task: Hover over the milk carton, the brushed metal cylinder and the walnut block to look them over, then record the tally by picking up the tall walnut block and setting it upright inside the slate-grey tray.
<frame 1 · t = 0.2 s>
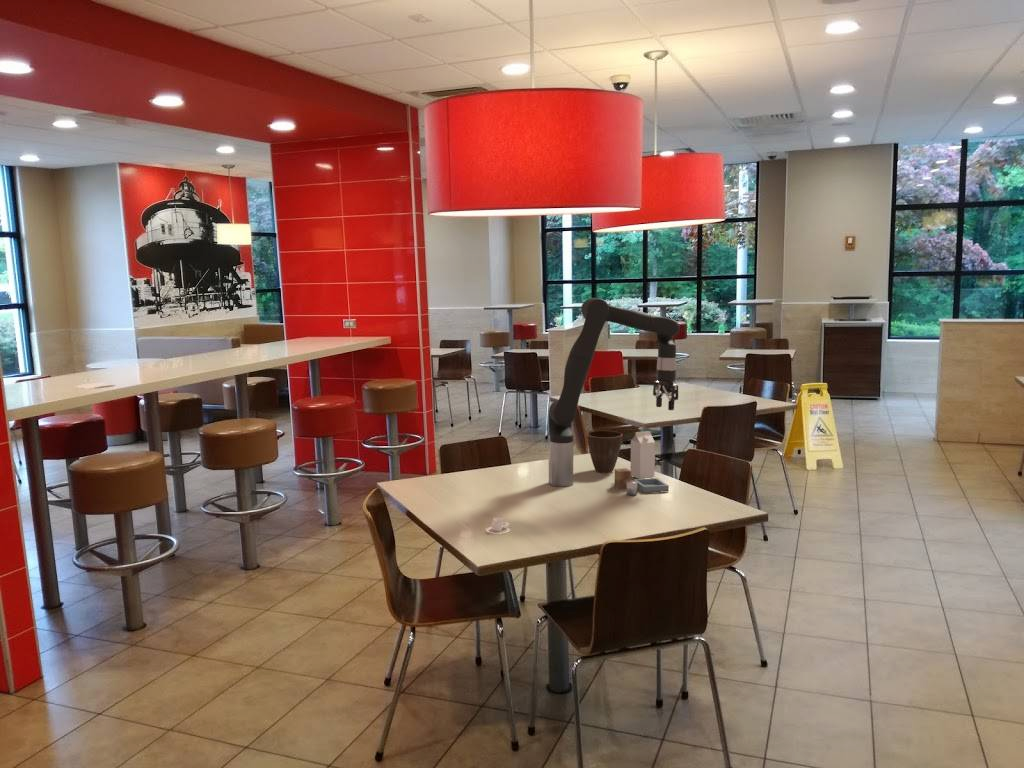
hand: (664, 408, 332), 29 cm above the table, tool pointing down, fingers open, 8 cm apart
milk carton: (642, 478, 337), on the table
plant pot: (604, 471, 349), on the table
teacup and saucer: (507, 532, 267), on the table
walnut block: (622, 487, 321), on the table
metal cylinder: (631, 494, 310), on the table
slate tray: (650, 488, 319), on the table
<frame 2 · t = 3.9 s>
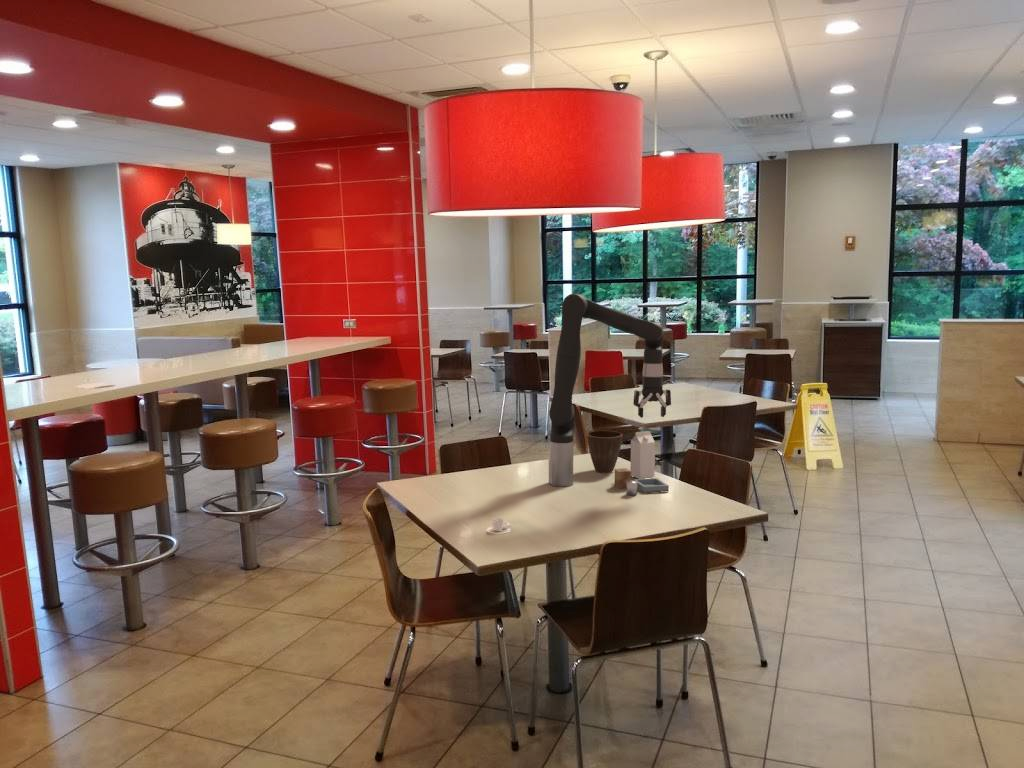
hand: (652, 416, 316), 28 cm above the table, tool pointing down, fingers open, 8 cm apart
nothing on the table moved.
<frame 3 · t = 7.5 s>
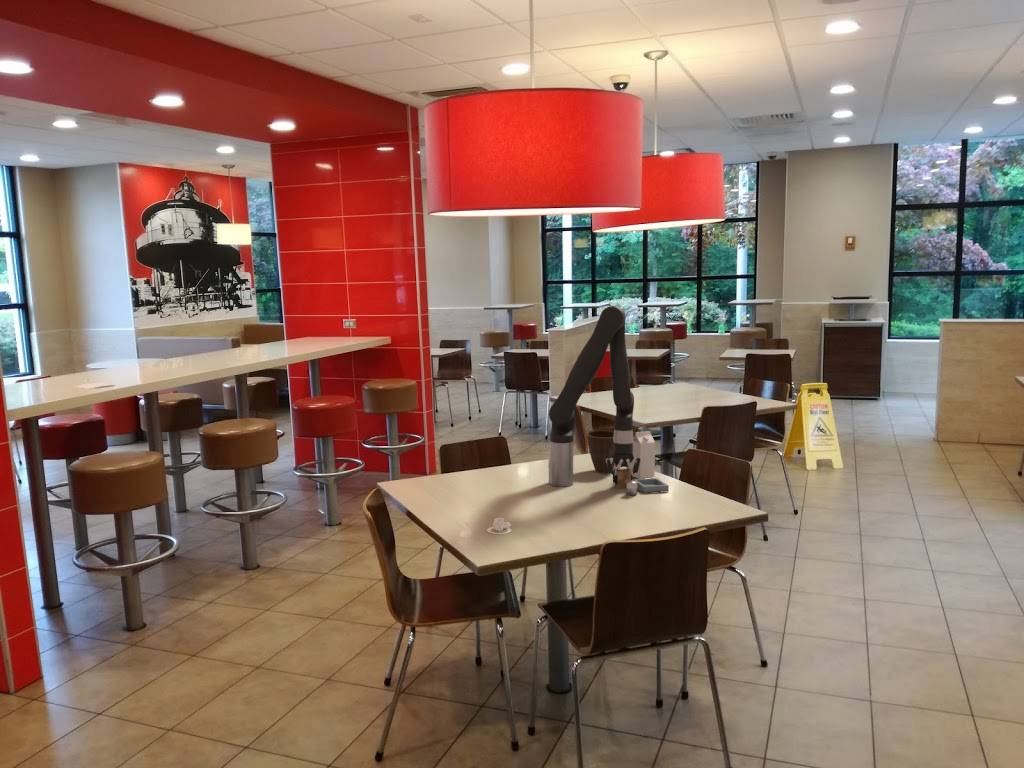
hand: (622, 483, 321), 1 cm above the table, tool pointing down, fingers closed on walnut block, 5 cm apart
walnut block: (622, 487, 321), on the table, touching gripper
everything else where it was.
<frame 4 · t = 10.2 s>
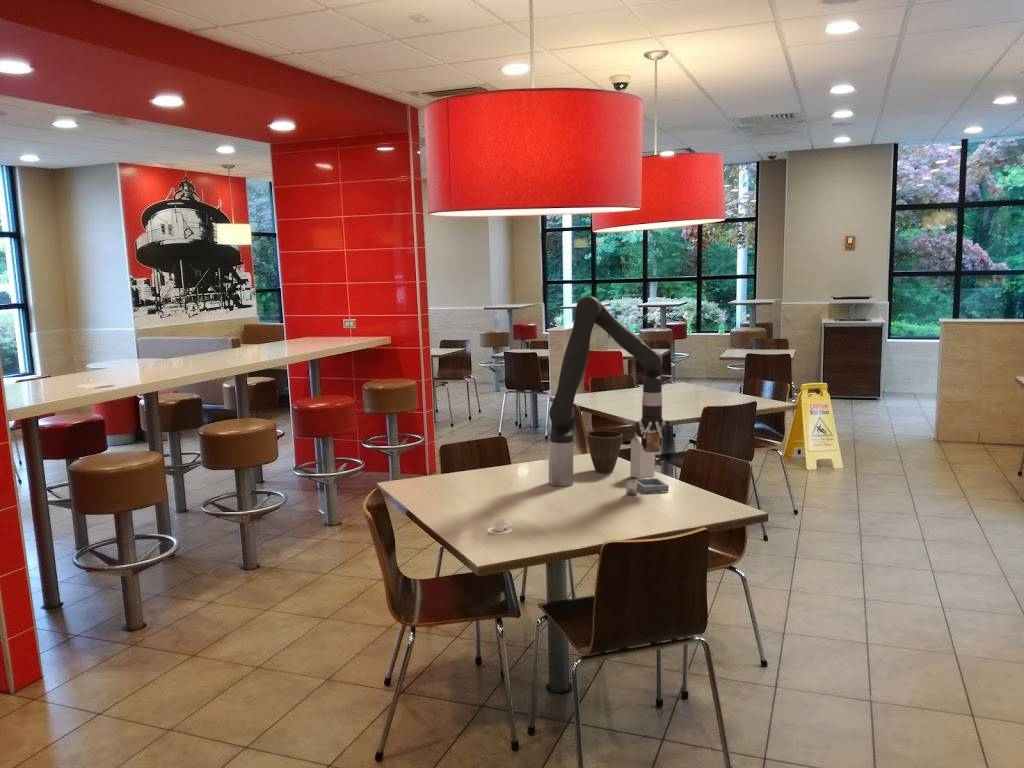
hand: (651, 447, 317), 16 cm above the table, tool pointing down, fingers closed on walnut block, 5 cm apart
walnut block: (651, 450, 317), point 15 cm above the table, touching gripper
everything else where it was.
when the fingers open (4 cm above the table, at t = 12.9 s): walnut block drops 2 cm, resting on slate tray.
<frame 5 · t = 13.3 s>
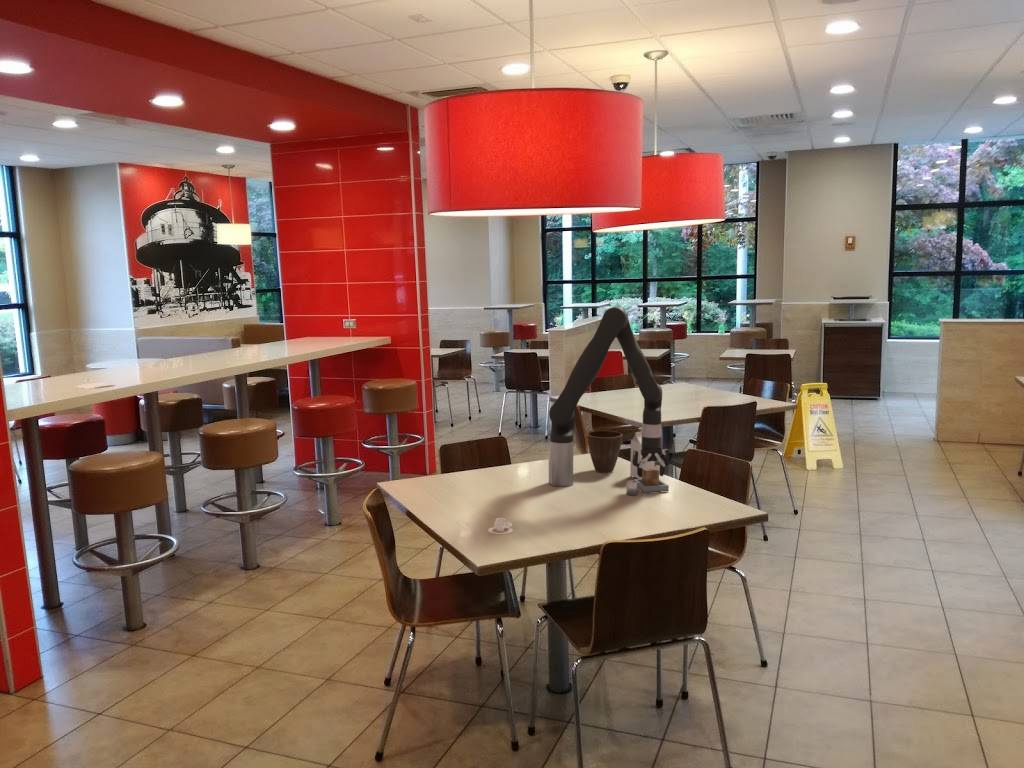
hand: (650, 476, 318), 5 cm above the table, tool pointing down, fingers open, 8 cm apart
walnut block: (650, 487, 319), point 1 cm above the table, touching slate tray
everything else where it was.
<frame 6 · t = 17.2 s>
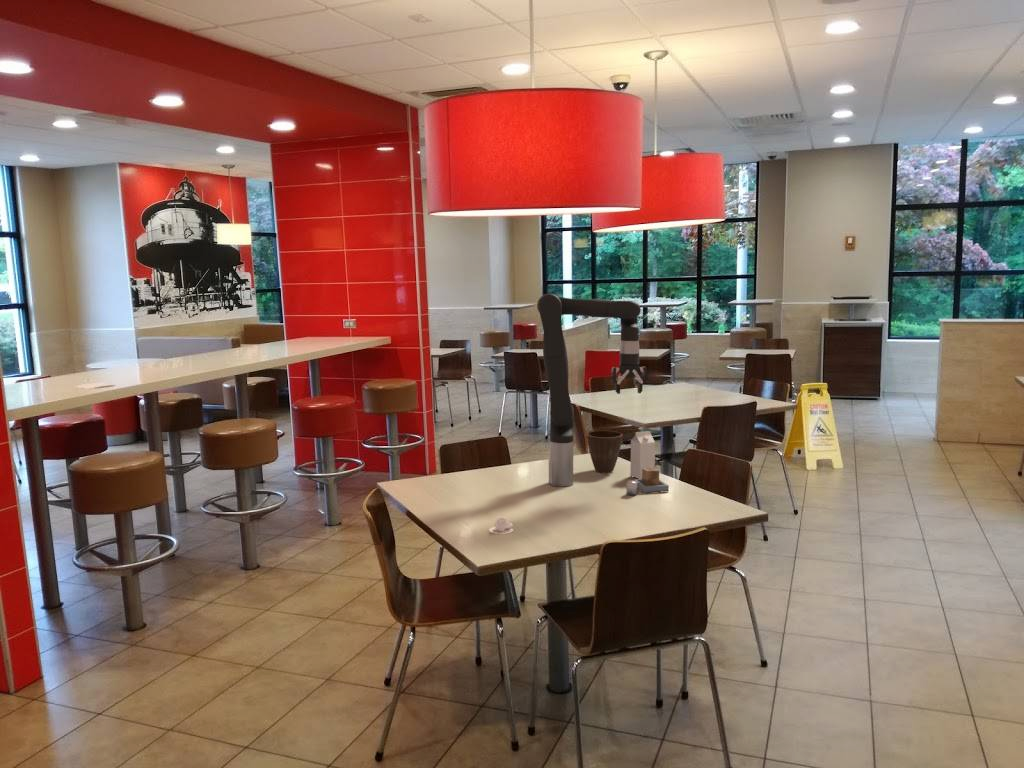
hand: (628, 393, 323), 36 cm above the table, tool pointing down, fingers open, 8 cm apart
at the end: walnut block 0.1 cm off-centre on the slate tray, point 0.6 cm above the slate tray's base; the gripper is holding nothing; metal cylinder moved 0.1 cm from its start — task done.
